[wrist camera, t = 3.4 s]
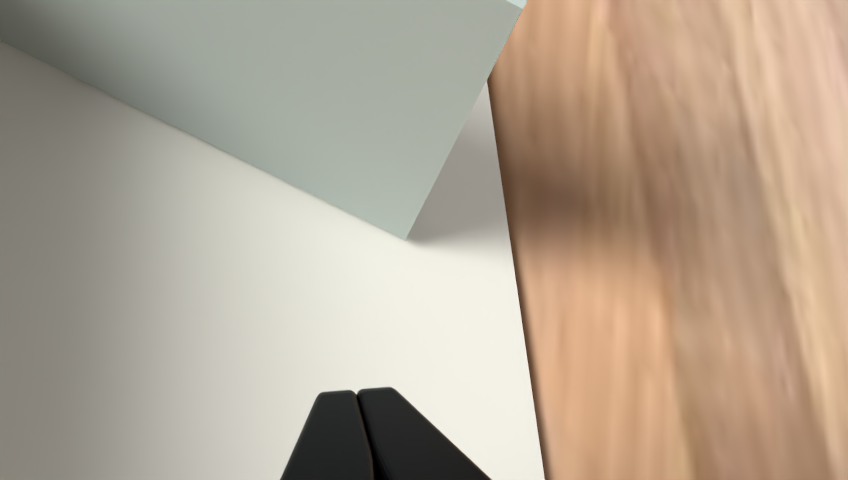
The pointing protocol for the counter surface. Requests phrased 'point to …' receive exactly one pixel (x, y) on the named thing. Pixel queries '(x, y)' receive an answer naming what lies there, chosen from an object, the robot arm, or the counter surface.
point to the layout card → (233, 299)
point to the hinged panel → (290, 81)
